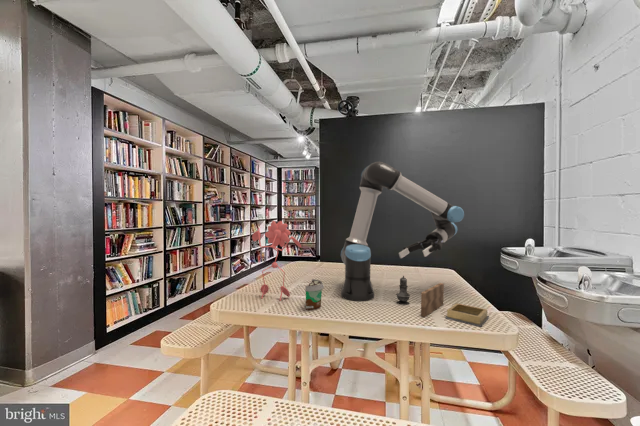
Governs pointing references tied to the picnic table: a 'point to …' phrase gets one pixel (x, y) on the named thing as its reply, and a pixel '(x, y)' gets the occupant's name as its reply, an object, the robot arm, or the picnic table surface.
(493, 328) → the picnic table surface
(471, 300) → the picnic table surface
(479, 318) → the yellow square tray
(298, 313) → the picnic table surface
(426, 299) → the board
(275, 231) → the pink tall figurine
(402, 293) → the salt shaker
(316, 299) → the food container
